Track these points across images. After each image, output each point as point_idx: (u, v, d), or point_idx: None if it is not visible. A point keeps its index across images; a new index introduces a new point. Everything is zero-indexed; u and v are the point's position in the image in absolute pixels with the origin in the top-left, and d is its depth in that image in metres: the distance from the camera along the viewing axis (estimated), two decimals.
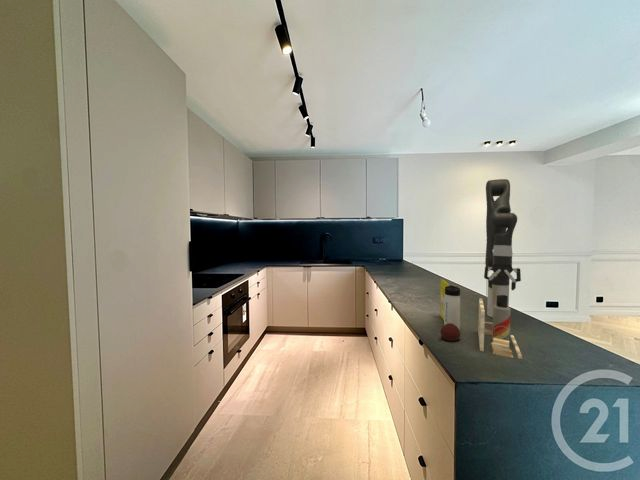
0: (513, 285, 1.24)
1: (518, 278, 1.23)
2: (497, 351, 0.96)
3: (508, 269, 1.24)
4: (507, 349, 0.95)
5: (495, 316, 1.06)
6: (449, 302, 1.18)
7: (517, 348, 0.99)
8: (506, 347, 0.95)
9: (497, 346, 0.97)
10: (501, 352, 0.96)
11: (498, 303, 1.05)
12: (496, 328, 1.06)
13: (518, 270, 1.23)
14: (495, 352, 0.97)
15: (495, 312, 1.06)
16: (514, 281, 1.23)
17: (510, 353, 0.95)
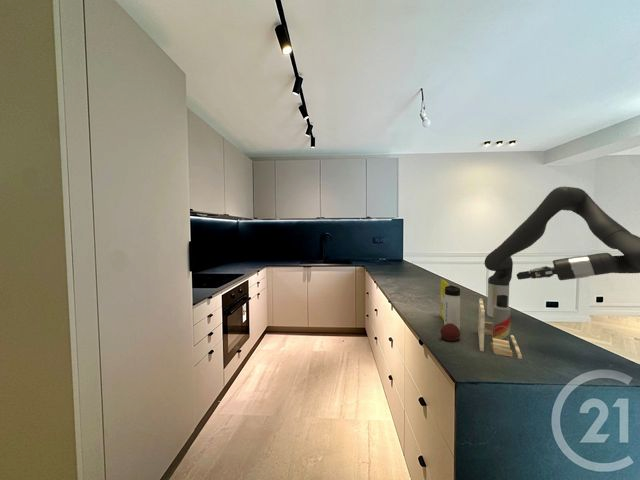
0: None
1: None
2: (498, 351, 0.96)
3: None
4: (508, 349, 0.95)
5: (495, 316, 1.06)
6: (449, 302, 1.18)
7: (517, 348, 0.99)
8: (507, 348, 0.95)
9: (498, 347, 0.97)
10: (502, 352, 0.96)
11: (498, 303, 1.05)
12: (496, 328, 1.06)
13: None
14: (496, 352, 0.97)
15: (495, 312, 1.06)
16: None
17: (511, 353, 0.95)
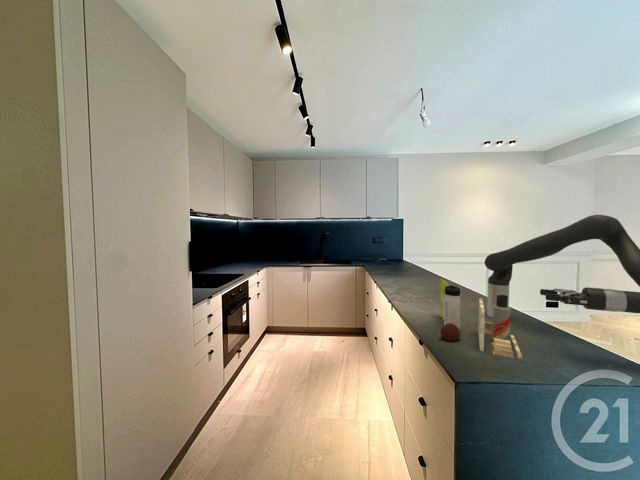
0: None
1: None
2: (498, 351, 0.96)
3: None
4: (509, 350, 0.95)
5: (495, 316, 1.06)
6: (449, 302, 1.18)
7: (517, 348, 0.99)
8: (508, 348, 0.95)
9: (499, 347, 0.96)
10: (502, 352, 0.96)
11: (498, 303, 1.05)
12: (496, 328, 1.06)
13: None
14: (496, 352, 0.97)
15: (495, 312, 1.06)
16: None
17: (511, 353, 0.95)
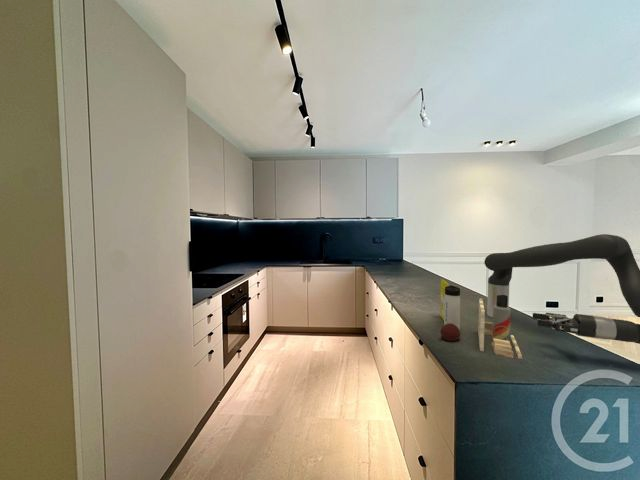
0: None
1: (550, 319, 1.04)
2: (499, 351, 0.96)
3: None
4: (509, 350, 0.95)
5: (495, 316, 1.06)
6: (449, 302, 1.18)
7: (517, 348, 0.99)
8: (508, 348, 0.95)
9: (500, 347, 0.96)
10: (503, 352, 0.96)
11: (498, 303, 1.05)
12: (496, 328, 1.06)
13: None
14: (497, 352, 0.96)
15: (495, 312, 1.06)
16: (546, 320, 1.03)
17: (512, 353, 0.95)
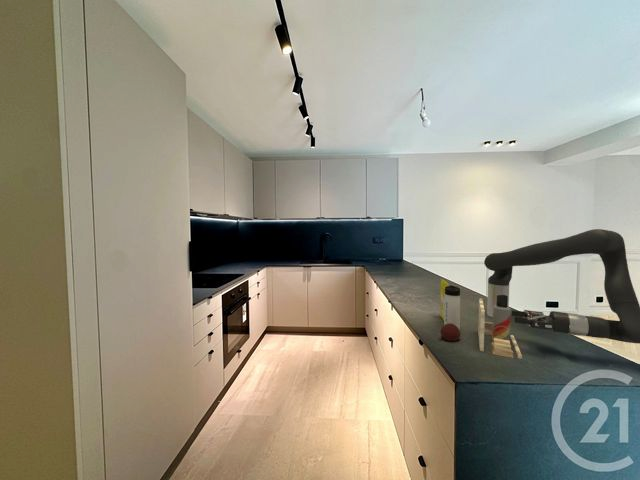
0: None
1: (528, 316, 1.07)
2: (498, 351, 0.96)
3: None
4: (509, 349, 0.95)
5: (495, 316, 1.06)
6: (449, 302, 1.18)
7: (517, 348, 0.99)
8: (508, 348, 0.95)
9: (499, 347, 0.96)
10: (502, 352, 0.96)
11: (498, 303, 1.05)
12: (496, 328, 1.06)
13: None
14: (496, 352, 0.97)
15: (495, 312, 1.06)
16: (524, 317, 1.07)
17: (511, 353, 0.95)
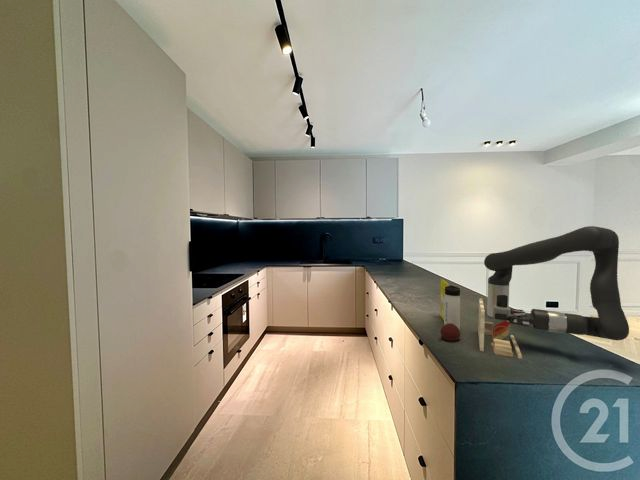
0: None
1: (509, 315, 1.09)
2: (498, 352, 0.96)
3: None
4: (510, 350, 0.95)
5: None
6: (449, 302, 1.18)
7: (517, 348, 0.99)
8: (508, 348, 0.95)
9: (500, 348, 0.96)
10: (502, 353, 0.96)
11: (498, 303, 1.05)
12: (496, 328, 1.06)
13: None
14: (496, 353, 0.96)
15: (495, 312, 1.06)
16: None
17: (511, 354, 0.95)
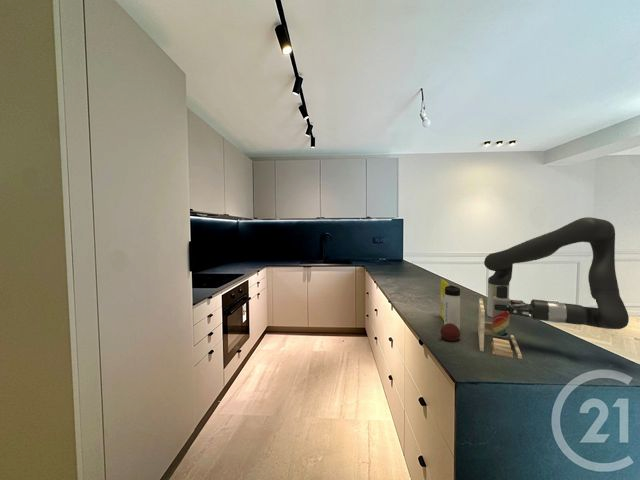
0: None
1: None
2: (498, 351, 0.96)
3: None
4: (509, 349, 0.95)
5: None
6: (449, 302, 1.18)
7: (517, 348, 0.99)
8: (507, 348, 0.95)
9: (499, 347, 0.96)
10: (502, 352, 0.96)
11: (498, 294, 1.05)
12: (496, 319, 1.06)
13: None
14: (496, 352, 0.97)
15: (495, 303, 1.06)
16: None
17: (511, 353, 0.95)
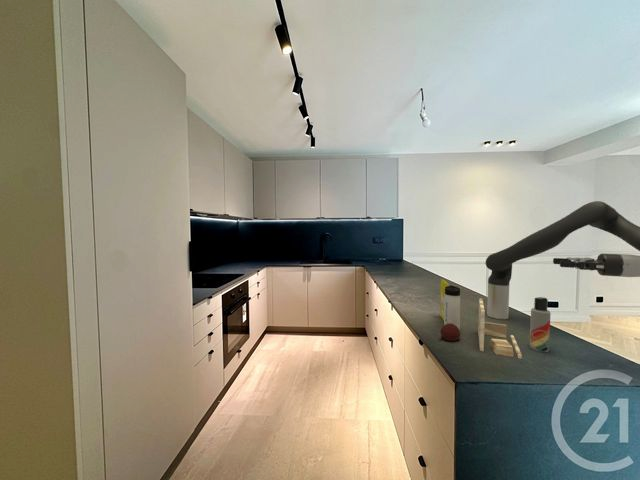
0: None
1: None
2: (499, 352, 0.96)
3: None
4: (511, 349, 0.95)
5: (534, 320, 1.00)
6: (449, 302, 1.18)
7: (517, 348, 0.99)
8: (510, 348, 0.95)
9: (501, 348, 0.96)
10: (503, 353, 0.96)
11: (537, 306, 1.00)
12: (535, 333, 1.00)
13: None
14: (497, 353, 0.96)
15: (534, 316, 1.00)
16: None
17: (512, 353, 0.95)
